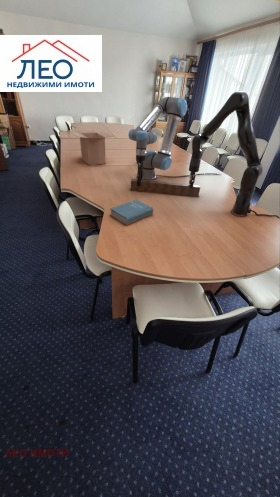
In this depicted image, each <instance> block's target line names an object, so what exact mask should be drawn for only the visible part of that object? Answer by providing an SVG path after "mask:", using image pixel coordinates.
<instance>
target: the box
mask: <svg viewBox="0 0 280 497" xmlns="http://www.w3.org/2000/svg"><path fill="white" fill-rule="evenodd" d="M70 133H71V134H72V135H74V136H75V137H77V138H79V144H80V153H81V160H83V162H85V163H86V165H87V166H95V165H97V166H98V165H106V163H107V162H106V158H107V157H106V138H113V137H114V136H113V135H111V134H109V133H108V132H105V131H98V132H96V131H95V130H92V129H91V130H77V132H76V131H70Z"/></svg>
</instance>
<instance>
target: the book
mask: <svg viewBox="0 0 280 497" xmlns="http://www.w3.org/2000/svg"><path fill="white" fill-rule="evenodd" d="M109 210H110V215H109V216H110V217H112V218H113V219H115V220H117V221H119V222H120V223H122V224H124V225H125V226H127V225H130V224H132V223H134V222H138V221H140V220H142V219H144V218H146V217H148V216H151V215H153V214H154V208H153V207H152V206H150V205H148V204H146V203H144V202H142V201H140V200H138V199H134V200H130V201H128V202H125V203H122V204H119V205H117V206H113V207H111V208H109Z"/></svg>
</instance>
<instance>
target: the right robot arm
mask: <svg viewBox="0 0 280 497" xmlns="http://www.w3.org/2000/svg"><path fill="white" fill-rule="evenodd" d="M234 112H235V113H236V114H235V115H236V117H237V130H236V134H237V135H236V137H237V141H238V146H239V149H240V151H241V152H242V154H243V156H244V158H245V161H246V166H247V167H246V168H245V170H244V171H243V173H242V177H241V178H240V179H241V180H240V183H239V188H238V191H237V194H236V197H235V201H234V203H233V206H232V209H231V214H233V215H234V216H237V217H246V216H247V214H251V213H254V214H255V215H256V216H258V217H259V216H264V217H275V218H277V219H280V216H279V215H277V214H265V213H257V211H255V210H254V209H253V210H252V208H251V201H252V198H253V196H254V193H255V190H256V185H257V183H258V182H257V181H258V179H259V178H260V177H261V176H262V175H263V172H264V171H263V170H264V168H263V164H262V163H261V159H260V156H259V152H258V151H259V150H258V145H257V139H256V132H255V129H254V125H253V120H252V116H251V108H250V98H249V95H248V93H247V92H246V91H244V90H243V91H242V90H241V91H240V90H239V91H238V90H237V91H234V92H233V93H231V94H230V96H229V97H228V98H227V99H226V102H225V103H224V104H223V106H222V107H221V108H220V109H219V111H218V112H217V113H216V115H214V117H213V118H212V119H210V121H209V122H208V123H207V124H206V125H205V126H204V127H203V129H202V132H201V133H200V134H195V135H194V136H193V138H192V140H191V156H190V160H189V166H188V172H189V175H190V176H189V182H188V184H190V188H193V185H195V181H196V177H197V175H196V174H197V173H198V172H199V171H200V166H201V163H202V162H201V161H202V154H203V150H202V149H201V146H203V145H205V144H206V143H207V142H208V141H209V139H210V138H211V136H213V134H215V133H216V132H217V131H218V130H219V129H220V127H221V126H222V125H223V123H224V122H225V120H226V119H227V118H228V117H229V116H230V115H232V113H234Z"/></svg>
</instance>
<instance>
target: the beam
mask: <svg viewBox="0 0 280 497" xmlns="http://www.w3.org/2000/svg"><path fill="white" fill-rule="evenodd" d="M130 191H131V192H132V191H133V192H142V193H153V194H161V195H162V194H164V195H173V196H174V195H175V196H182V197H192V198H193V197H194V198H199V195H200V191H201V185H198V184H193V188H190V184H189V183H180V182H179V183H177V182H168V181H159V180H158V181H156V180H145V179H142V180H141V186H137V178H132V179H131V180H130Z"/></svg>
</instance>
